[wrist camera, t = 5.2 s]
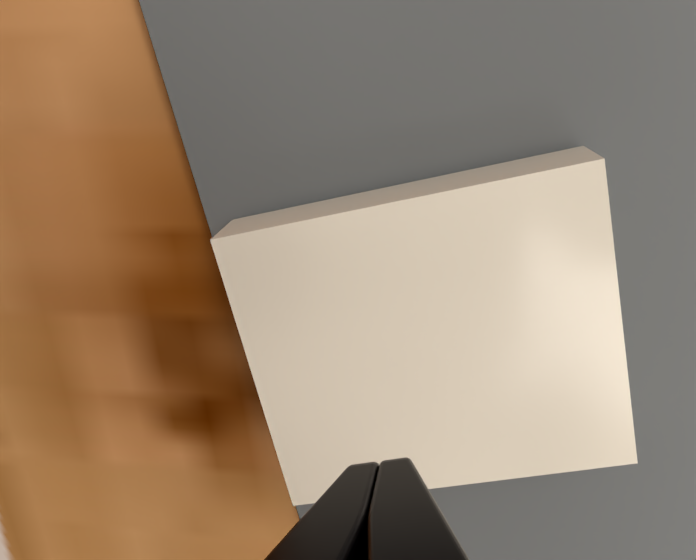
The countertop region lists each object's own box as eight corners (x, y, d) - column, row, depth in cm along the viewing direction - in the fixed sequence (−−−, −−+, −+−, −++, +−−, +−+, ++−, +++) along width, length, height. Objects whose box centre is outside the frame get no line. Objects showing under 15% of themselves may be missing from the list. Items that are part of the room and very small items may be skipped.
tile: (637, 463, 12) (293, 506, 14) (613, 416, 14) (306, 458, 15) (604, 158, 11) (210, 239, 12) (581, 144, 12) (235, 217, 13)
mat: (890, 619, 16) (904, 637, 15) (350, 660, 18) (348, 677, 18) (923, -258, 10) (947, -274, 10) (140, -29, 12) (128, -32, 12)
